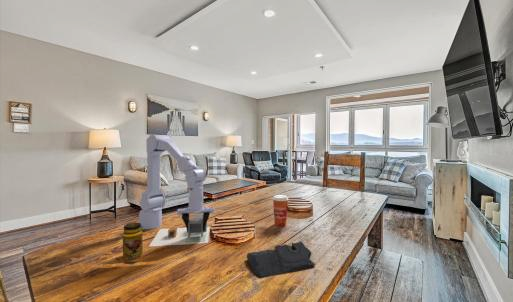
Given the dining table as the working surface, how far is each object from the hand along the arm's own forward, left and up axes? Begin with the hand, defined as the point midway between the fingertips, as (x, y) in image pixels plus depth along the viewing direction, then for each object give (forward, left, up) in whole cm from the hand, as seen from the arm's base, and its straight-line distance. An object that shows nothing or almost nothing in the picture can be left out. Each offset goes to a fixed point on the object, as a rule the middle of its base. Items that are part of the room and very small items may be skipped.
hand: (196, 231), depth 96 cm
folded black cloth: (+30, -21, -5) cm, 37 cm away
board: (-6, +4, -4) cm, 8 cm away
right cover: (+1, +9, -3) cm, 10 cm away
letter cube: (-10, +4, -3) cm, 11 cm away
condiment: (-21, -11, -4) cm, 24 cm away
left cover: (0, 0, -2) cm, 2 cm away
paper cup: (+39, +13, -4) cm, 41 cm away
